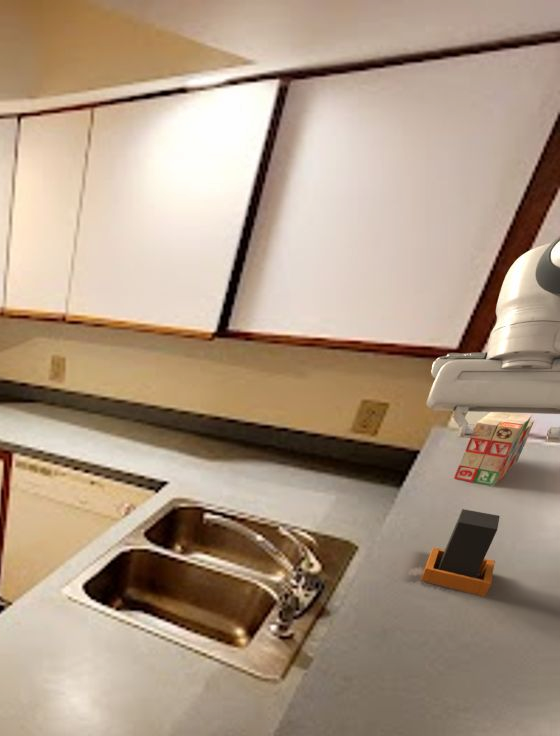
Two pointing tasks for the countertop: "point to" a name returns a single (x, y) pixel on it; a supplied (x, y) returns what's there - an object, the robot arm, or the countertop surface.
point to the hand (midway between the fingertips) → (508, 438)
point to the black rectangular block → (469, 543)
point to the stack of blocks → (494, 447)
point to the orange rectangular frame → (458, 575)
